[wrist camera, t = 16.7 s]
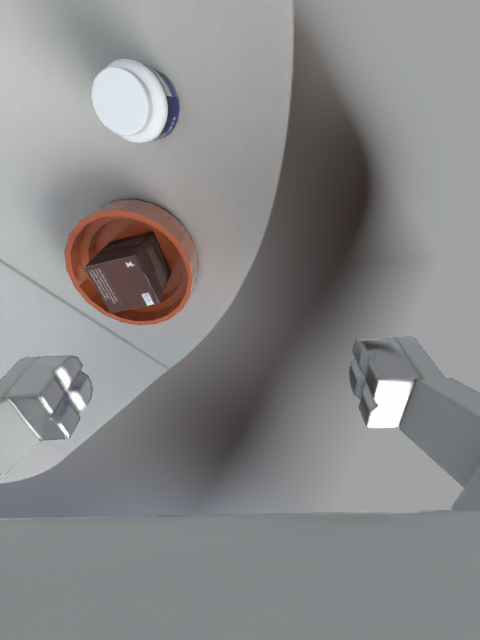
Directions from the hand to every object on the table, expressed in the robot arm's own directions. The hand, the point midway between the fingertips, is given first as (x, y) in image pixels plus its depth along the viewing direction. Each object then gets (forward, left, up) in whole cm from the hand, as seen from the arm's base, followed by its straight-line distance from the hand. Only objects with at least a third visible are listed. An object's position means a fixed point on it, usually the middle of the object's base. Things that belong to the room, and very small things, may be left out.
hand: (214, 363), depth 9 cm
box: (+13, +8, -29) cm, 32 cm away
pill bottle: (+8, -7, -29) cm, 31 cm away
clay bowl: (+13, +8, -29) cm, 33 cm away
